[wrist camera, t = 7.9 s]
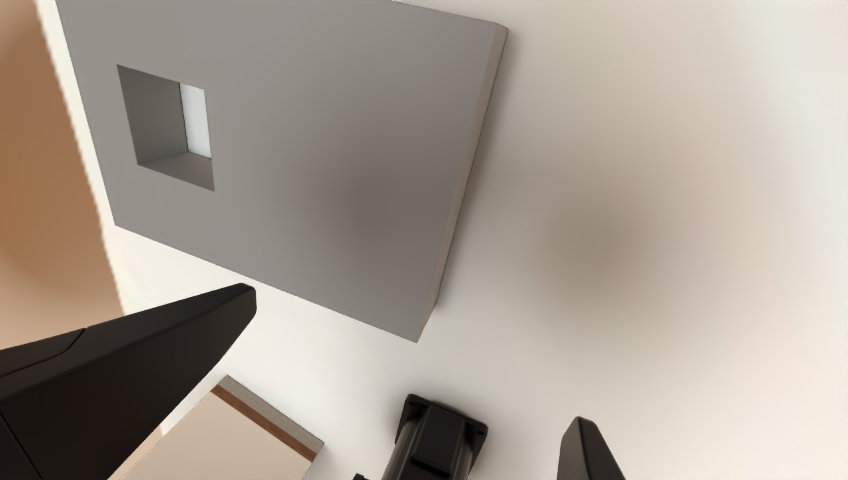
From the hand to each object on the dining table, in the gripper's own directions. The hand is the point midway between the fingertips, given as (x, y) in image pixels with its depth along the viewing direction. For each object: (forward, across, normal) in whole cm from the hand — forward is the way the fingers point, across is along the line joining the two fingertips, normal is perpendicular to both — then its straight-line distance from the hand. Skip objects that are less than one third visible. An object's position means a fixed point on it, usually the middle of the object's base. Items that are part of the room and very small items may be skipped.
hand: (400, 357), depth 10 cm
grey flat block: (+12, +12, 0) cm, 17 cm away
